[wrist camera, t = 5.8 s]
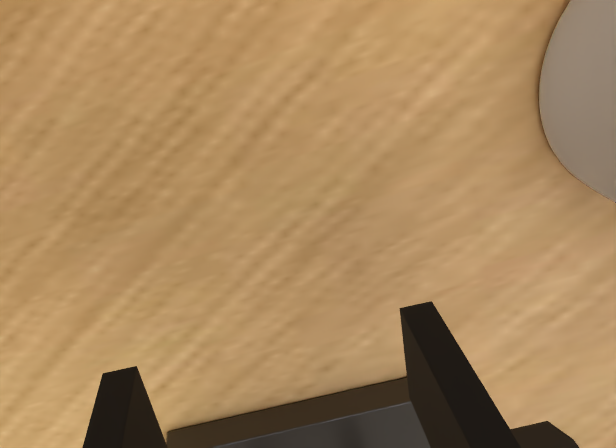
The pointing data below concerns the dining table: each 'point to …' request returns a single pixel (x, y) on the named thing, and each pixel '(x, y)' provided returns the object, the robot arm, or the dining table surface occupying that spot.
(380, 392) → the bracket
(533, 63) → the dining table surface
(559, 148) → the mug
